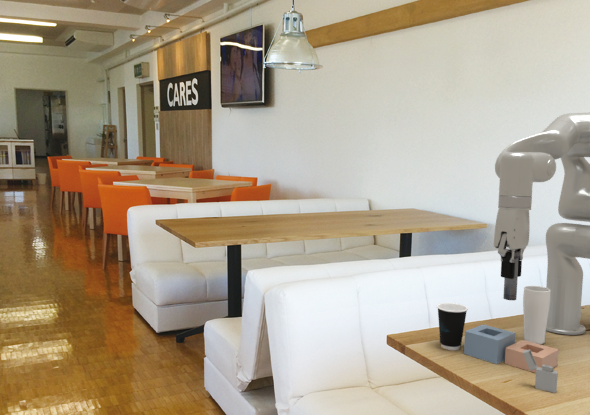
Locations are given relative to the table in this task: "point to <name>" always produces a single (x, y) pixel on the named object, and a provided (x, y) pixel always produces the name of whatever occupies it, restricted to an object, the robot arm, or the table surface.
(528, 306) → the drinking glass
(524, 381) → the table surface
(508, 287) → the lock pin
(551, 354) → the mount block
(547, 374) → the lighter
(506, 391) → the table surface
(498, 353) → the socket block
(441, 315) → the dixie cup
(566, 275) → the robot arm
